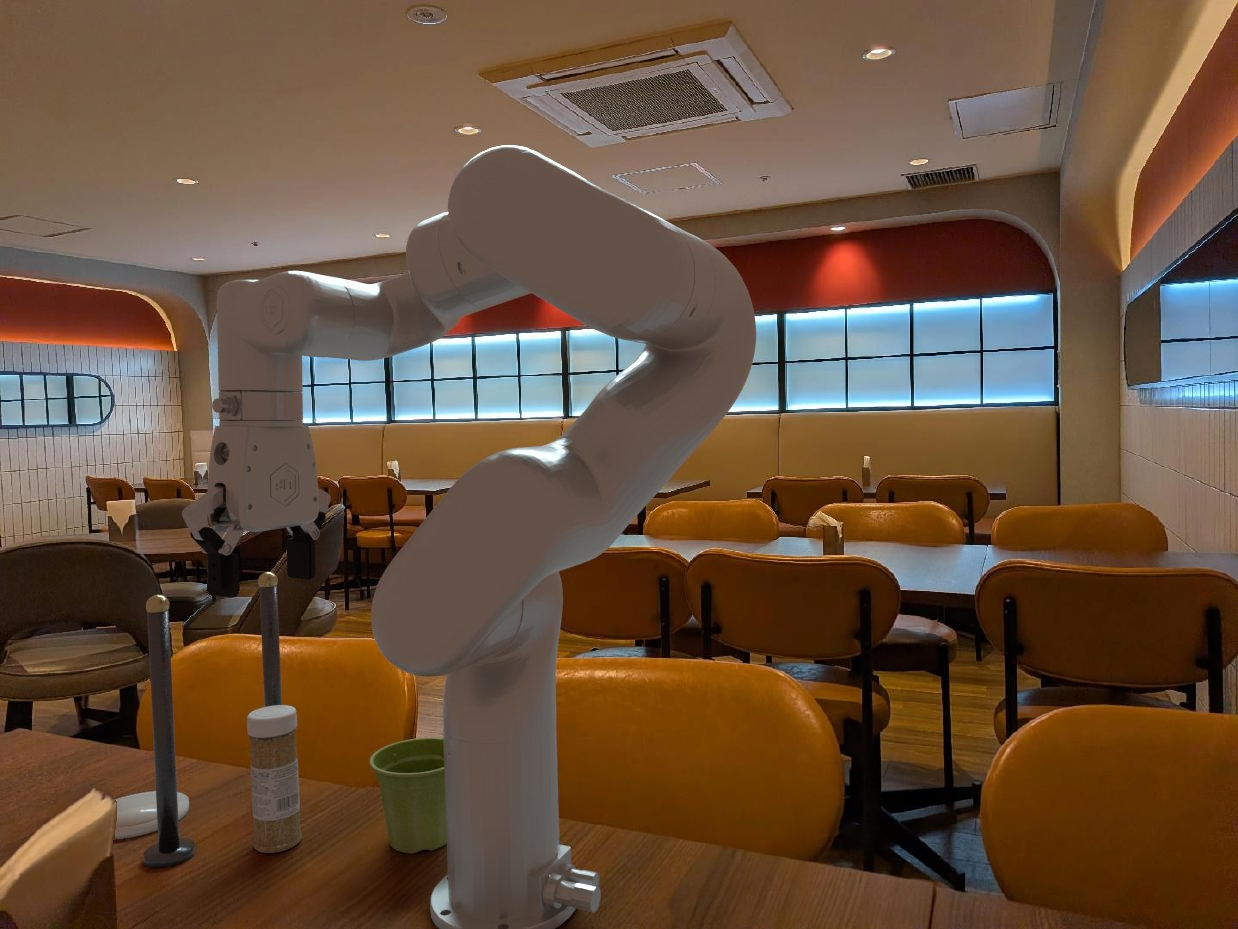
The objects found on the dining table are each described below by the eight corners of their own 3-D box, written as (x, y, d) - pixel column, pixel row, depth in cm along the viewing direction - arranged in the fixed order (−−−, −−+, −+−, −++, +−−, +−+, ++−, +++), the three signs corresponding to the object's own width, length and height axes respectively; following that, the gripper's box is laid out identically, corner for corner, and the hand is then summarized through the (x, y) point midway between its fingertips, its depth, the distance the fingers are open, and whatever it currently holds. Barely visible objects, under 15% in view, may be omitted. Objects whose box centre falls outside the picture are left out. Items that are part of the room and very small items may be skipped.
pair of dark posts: (306, 795, 97) (297, 569, 96) (165, 871, 81) (152, 600, 80) (277, 789, 99) (268, 568, 98) (133, 863, 83) (120, 598, 81)
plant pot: (487, 827, 88) (485, 744, 88) (430, 871, 80) (427, 779, 79) (413, 812, 92) (411, 732, 92) (352, 853, 84) (348, 765, 83)
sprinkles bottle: (292, 829, 89) (287, 700, 88) (308, 845, 85) (303, 711, 85) (246, 843, 86) (240, 710, 85) (260, 860, 82) (254, 722, 82)
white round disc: (209, 805, 95) (209, 797, 95) (125, 847, 86) (125, 837, 86) (147, 792, 99) (146, 784, 99) (60, 830, 90) (60, 821, 90)
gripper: (215, 410, 74) (219, 608, 75) (353, 412, 90) (355, 575, 91) (154, 410, 77) (158, 600, 78) (298, 411, 93) (300, 569, 94)
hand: (264, 586), depth 84 cm, fingers open, 9 cm apart
